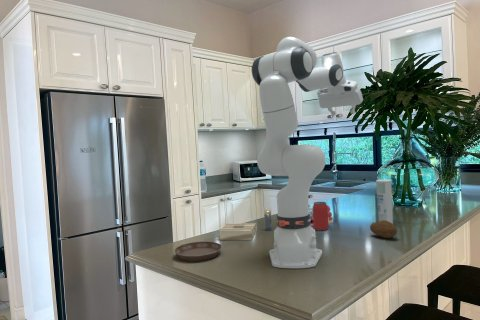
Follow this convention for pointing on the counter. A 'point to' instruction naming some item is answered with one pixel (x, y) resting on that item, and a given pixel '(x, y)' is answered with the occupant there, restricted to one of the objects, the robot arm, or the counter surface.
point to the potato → (384, 229)
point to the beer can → (320, 216)
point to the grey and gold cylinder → (267, 220)
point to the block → (238, 231)
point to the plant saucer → (198, 251)
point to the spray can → (384, 200)
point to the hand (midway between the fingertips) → (343, 114)
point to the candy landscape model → (312, 215)
